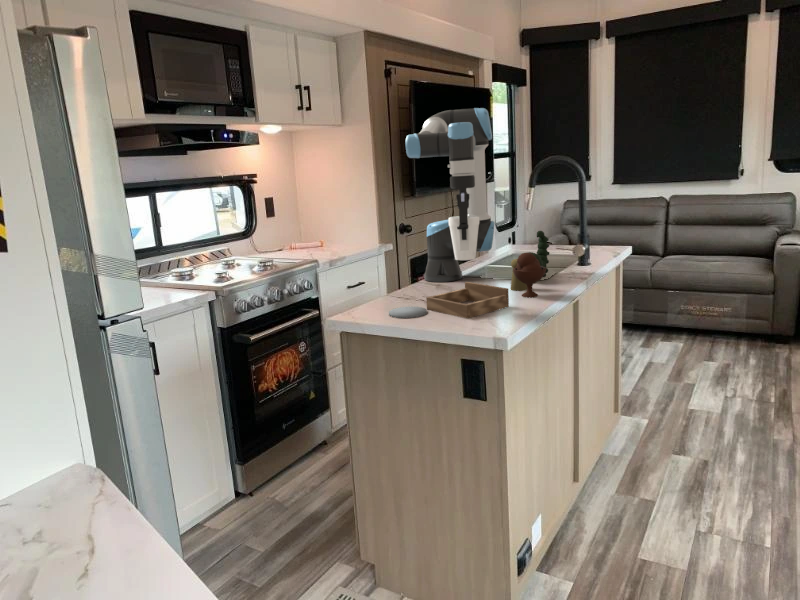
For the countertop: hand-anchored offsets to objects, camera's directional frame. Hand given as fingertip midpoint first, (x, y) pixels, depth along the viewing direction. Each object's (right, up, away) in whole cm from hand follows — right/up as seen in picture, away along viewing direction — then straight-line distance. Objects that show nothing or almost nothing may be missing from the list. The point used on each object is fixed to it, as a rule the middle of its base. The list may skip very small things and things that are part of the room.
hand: (464, 247), depth 194 cm
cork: (+22, -13, +28) cm, 38 cm away
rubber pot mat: (-18, -21, +2) cm, 27 cm away
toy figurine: (+31, -8, +45) cm, 55 cm away
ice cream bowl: (+24, -15, +16) cm, 32 cm away
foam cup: (0, -3, +1) cm, 4 cm away
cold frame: (+1, -19, +4) cm, 19 cm away
